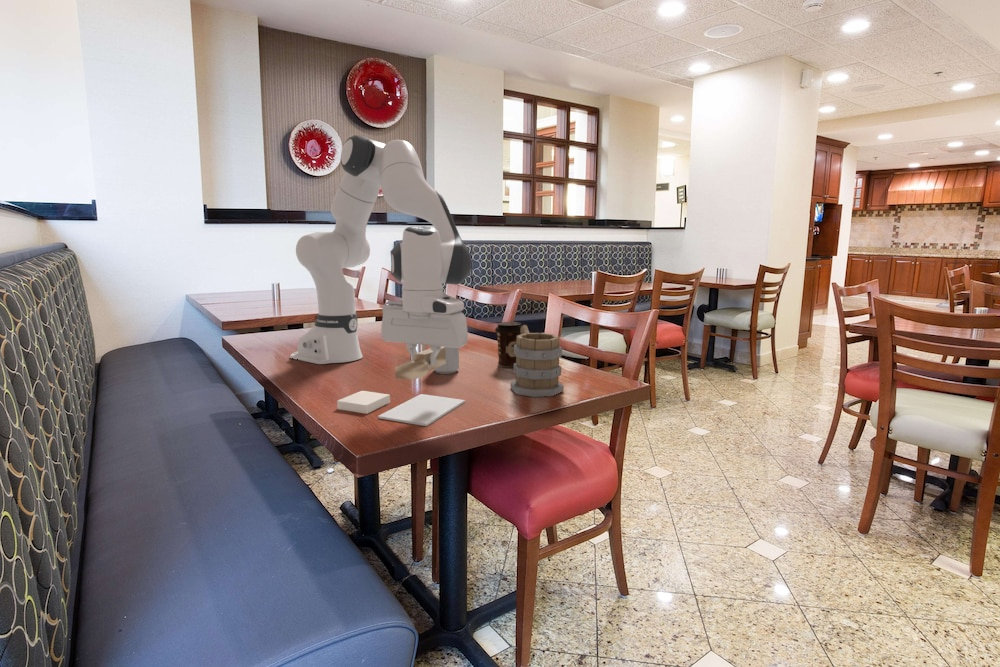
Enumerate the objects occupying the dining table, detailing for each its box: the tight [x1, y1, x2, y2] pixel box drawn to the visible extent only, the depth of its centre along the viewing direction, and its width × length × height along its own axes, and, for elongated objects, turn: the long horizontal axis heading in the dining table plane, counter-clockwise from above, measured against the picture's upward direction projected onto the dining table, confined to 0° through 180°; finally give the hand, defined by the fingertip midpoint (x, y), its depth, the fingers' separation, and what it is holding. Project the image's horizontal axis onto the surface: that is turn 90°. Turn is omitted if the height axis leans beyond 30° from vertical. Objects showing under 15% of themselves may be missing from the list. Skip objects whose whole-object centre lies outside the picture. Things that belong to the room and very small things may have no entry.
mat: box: [377, 393, 466, 427], centre depth 124 cm, size 12×18×1 cm, turn 157°
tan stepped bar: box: [395, 347, 446, 381], centre depth 122 cm, size 4×16×4 cm, turn 158°
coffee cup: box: [494, 321, 523, 368], centre depth 165 cm, size 9×8×13 cm
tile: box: [336, 390, 391, 415], centre depth 127 cm, size 8×2×9 cm
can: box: [433, 347, 460, 375], centre depth 158 cm, size 8×8×12 cm
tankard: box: [510, 324, 565, 398], centre depth 143 cm, size 20×13×15 cm, turn 11°
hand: (424, 363), depth 123 cm, fingers closed on tan stepped bar, 2 cm apart
